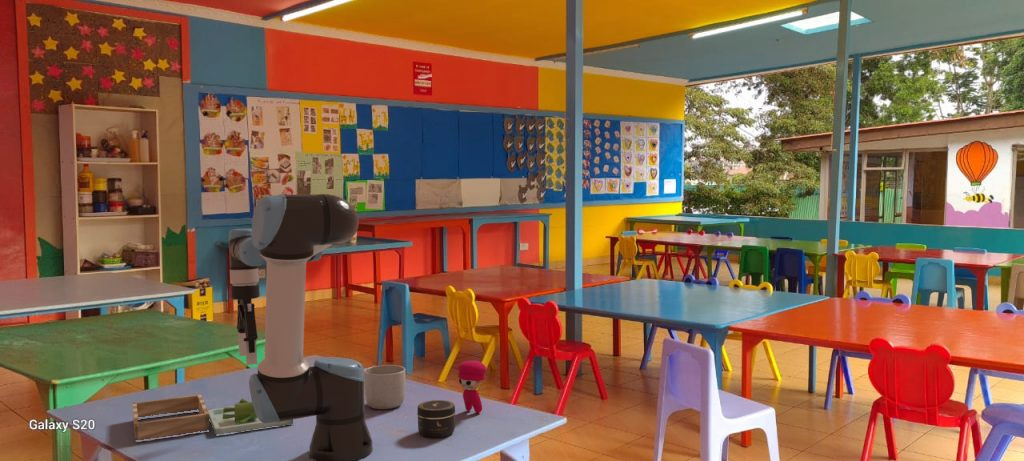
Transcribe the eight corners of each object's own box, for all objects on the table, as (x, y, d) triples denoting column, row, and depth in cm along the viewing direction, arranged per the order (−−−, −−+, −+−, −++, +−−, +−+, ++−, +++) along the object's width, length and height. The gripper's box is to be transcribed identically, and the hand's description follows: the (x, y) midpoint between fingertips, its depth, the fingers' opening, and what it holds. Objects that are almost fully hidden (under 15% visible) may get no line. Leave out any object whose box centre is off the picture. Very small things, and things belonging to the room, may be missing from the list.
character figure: (223, 392, 213) (268, 389, 216) (224, 407, 215) (269, 403, 219) (221, 420, 203) (268, 416, 207) (222, 435, 205) (269, 430, 209)
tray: (293, 425, 209) (293, 417, 209) (215, 436, 200) (215, 429, 200) (279, 406, 227) (279, 400, 227) (207, 416, 217) (207, 409, 217)
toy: (452, 414, 217) (451, 362, 216) (467, 406, 224) (466, 356, 223) (478, 418, 213) (477, 365, 212) (492, 410, 220) (491, 359, 219)
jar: (421, 441, 195) (420, 412, 194) (414, 429, 204) (414, 401, 204) (459, 437, 197) (458, 408, 197) (451, 425, 207) (450, 398, 206)
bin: (209, 432, 204) (209, 413, 203) (135, 443, 195) (134, 424, 195) (201, 411, 223) (200, 394, 223) (133, 420, 215) (132, 403, 215)
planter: (357, 410, 222) (356, 373, 221) (374, 398, 234) (373, 364, 233) (396, 413, 219) (395, 375, 218) (412, 401, 231) (411, 365, 230)
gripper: (266, 287, 202) (269, 366, 202) (251, 279, 224) (254, 350, 225) (237, 289, 198) (240, 369, 199) (225, 281, 220) (227, 353, 221)
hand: (247, 359), depth 212 cm, fingers open, 13 cm apart
